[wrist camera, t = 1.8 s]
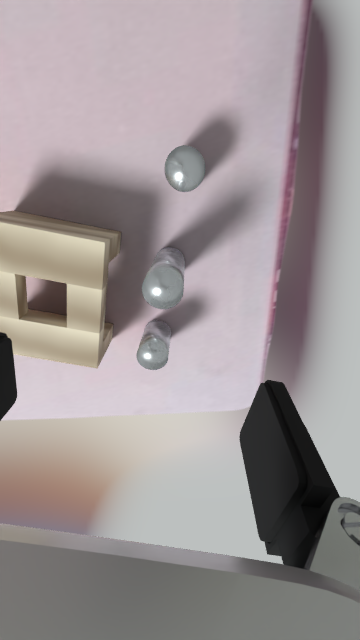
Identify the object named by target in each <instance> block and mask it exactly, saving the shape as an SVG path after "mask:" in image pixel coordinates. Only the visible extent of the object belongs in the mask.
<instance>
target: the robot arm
mask: <svg viewBox="0 0 360 640" xmlns="http://www.w3.org/2000/svg"><path fill="white" fill-rule="evenodd" d="M16 398H17V388H16V378H15V368H14V358H13V348H12V340H11V339H10V338H8V336H7V334H6V333H2V332H0V420H1V419H2V418H3V417H4V415H5V414H6V413H7V412H8V411H9V409H10V408H11V407H12V406H13V404H14V403H15V401H16ZM240 444H241V449H242V454H243V459H244V464H245V469H246V474H247V479H248V484H249V489H250V494H251V499H252V504H253V509H254V514H255V519H256V524H257V529H258V534H259V537H260V540H261V541H265V546H266V550H267V554H269V555H277V556H282V560H283V564H284V565H283V564H277V563H271V562H264V561H259V560H253V559H247V558H241V557H235V556H229V555H222V554H214V553H208V552H201V551H194V550H187V549H181V548H174V547H167V546H160V545H153V544H145V543H139V542H132V541H124V540H117V539H110V538H103V537H96V536H88V535H81V534H73V533H67V532H59V531H52V530H45V529H37V528H30V527H23V526H15V525H8V524H0V640H360V503H359V502H358V501H356V500H353V499H350V498H346V497H340V496H339V494H338V492H337V490H336V488H335V486H334V484H333V482H332V480H331V478H330V476H329V474H328V472H327V470H326V468H325V466H324V464H323V461H322V459H321V457H320V455H319V453H318V451H317V449H316V447H315V445H314V443H313V441H312V439H311V437H310V435H309V433H308V431H307V429H306V427H305V425H304V424H303V422H302V420H301V418H300V416H299V414H298V412H297V410H296V408H295V405H294V403H293V401H292V399H291V397H290V395H289V393H288V391H287V389H286V387H285V385H284V384H283V383H282V382H276V381H271V380H267V381H266V382H265V383H261V384H260V386H259V388H258V391H257V393H256V396H255V398H254V400H253V403H252V405H251V408H250V410H249V412H248V415H247V417H246V419H245V422H244V424H243V427H242V429H241V432H240Z"/></svg>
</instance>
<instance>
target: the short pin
mask: <svg viewBox="0 0 360 640" xmlns="http://www.w3.org/2000/svg"><path fill="white" fill-rule="evenodd" d="M204 174H205V163H204V159H203V157H202V155H201V154H200V153H199V151H198V150H196V149H195V148H193V147H191V146H179V147H177V148H175V149H174V150H173V151H172V152H171V153H170V154H169V155H168V157H167V159H166V163H165V175H166V178H167V180H168V182H169V184H170V185H171V186H172V187H173V188H174V189H176V190H178V191H182V192H188V191H191V190H194V189H195V188H196V187H198V186H199V185H200V183H201V182H202V180H203V177H204Z"/></svg>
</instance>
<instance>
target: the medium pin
mask: <svg viewBox="0 0 360 640" xmlns="http://www.w3.org/2000/svg"><path fill="white" fill-rule="evenodd" d="M170 337H171V329H170V327H169V325H168V324H167V323H166V322H164V321H161V320H153V321H150V322H149V323H148V324H147V325H146V326H145V329H144V332H143V336H142V339H141V342H140V345H139V348H138V351H137V360H138V362H139V364H140V365H141V366H143V367H144V368H146V369H150V370H157V369H160V368H162V367H163V366H165V364H166V363H167V361H168V354H169V346H170Z"/></svg>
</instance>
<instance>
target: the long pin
mask: <svg viewBox="0 0 360 640" xmlns="http://www.w3.org/2000/svg"><path fill="white" fill-rule="evenodd" d="M184 270H185V259H184V256H183V254H182V253H181V252H180V251H179V250H177V249H176V248H173V247H166V248H163V249H161V250H160V251H159V252H158V253H157V255H156V257H155V259H154V261H153V263H152V265H151V267H150V269H149V271H148V273H147V275H146V277H145V279H144V281H143V285H142V293H143V296H144V298H145V300H146V301H147V302H148V303H149V304H150V305H151V306H153V307H155V308H158V309H169V308H172V307H174V306H175V305H177V304H178V303H179V302H180V300H181V298H182V296H183V289H184Z"/></svg>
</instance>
